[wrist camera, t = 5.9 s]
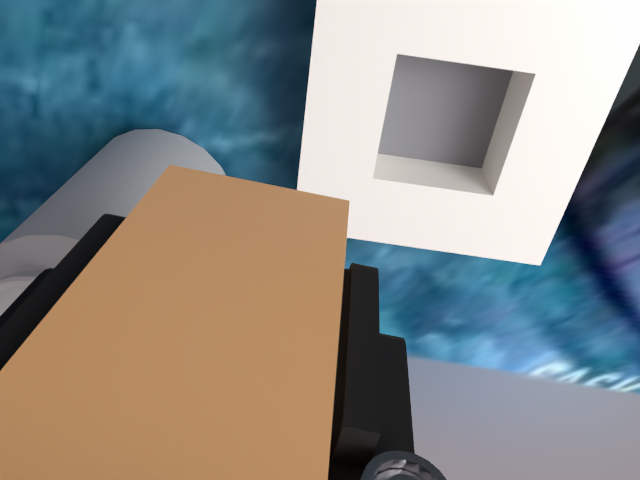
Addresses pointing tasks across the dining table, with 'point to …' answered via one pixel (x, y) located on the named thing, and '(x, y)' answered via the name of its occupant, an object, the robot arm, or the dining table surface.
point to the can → (93, 202)
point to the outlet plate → (460, 116)
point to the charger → (188, 343)
